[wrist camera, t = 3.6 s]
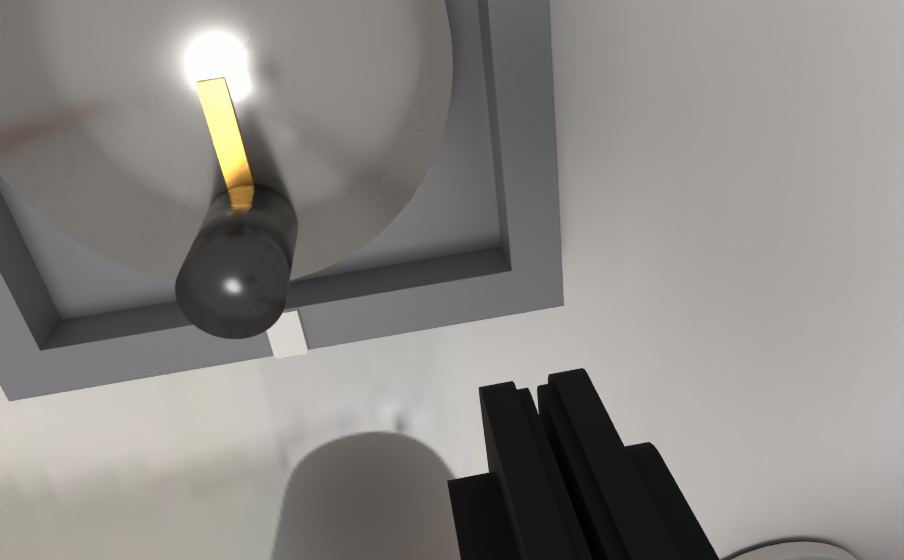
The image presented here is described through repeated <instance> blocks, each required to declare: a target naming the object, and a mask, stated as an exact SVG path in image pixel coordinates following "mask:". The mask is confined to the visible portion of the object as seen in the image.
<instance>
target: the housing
mask: <svg viewBox="0 0 904 560" xmlns="http://www.w3.org/2000/svg"><path fill="white" fill-rule="evenodd" d="M445 4H446V9H447V15H448V20H449V26H450V32H451V40H452V58H453V76H452V90H451V101H450V106H449V111H448V116H447V121H446V126H445V130H444V133H443V136H442V139H441V141H440V144H439V147H438V150H437V153H436V156H435V158H434V160H433V162H432V164H431V166H430V168H429V170H428V172H427V174H426V176H425V178H424V180H423V182H422V184H421V185H420V187H419V188H418V189H417V191H416V192H415V194H414V195H413V197H412V198H411V200H410V201H409V203H408V204H407V205H406V207H405V208H404V209H403V210H402V211H401V212H400V213H399V215H398V216H397V217H396V218H395V219H394V220H393V221H392V222H391V224H390V225H389V226H387V227H386V228H385V229H384V230H383V231H382V232H381V233H379V234H378V235H377V236H376V237H375V238H374V239H373V240H371V241H370V242H369V243H368V244H366V245H365V246H363V247H362V248H360V249H359V250H357V251H356V252H354V253H353V254H351V255H350V256H348V257H347V258H345V259H343V260H341V261H339V262H337V263H335V264H333V265H331V266H329V267H327V268H325V269H322V270H320V271H317V272H314V273H311V274H308V275H306V276H303V277H300V278H297V279H293V280H290V281H289V287H288V292H287V298H286V304H285V307H284V310H283V313H282V315H281V316H280V318H279V319H278V321H277V322H276V323H275V324H274V325H273V326H272V327H271V328H269V329H268V330H266V331H265V332H263V333H261V334H259V335H256V336H253V337H250V338H245V339H225V338H220V337H216V336H213V335H210V334H208V333H206V332H204V331H202V330H200V329H198V328H197V327H196V326H194V325H193V324H192V323H191V322H190V321H189V320H188V319H187V318H186V317H185V316H184V314H183V313H182V311H181V310H180V308H179V305H178V303H177V300H176V295H175V283H176V282H173V281H169V280H164V279H160V278H156V277H153V276H150V275H147V274H144V273H141V272H138V271H135V270H132V269H129V268H126V267H124V266H122V265H120V264H117V263H115V262H113V261H111V260H109V259H106V258H104V257H102V256H100V255H98V254H96V253H94V252H93V251H91V250H89V249H88V248H86V247H84V246H82V245H81V244H79V243H77V242H76V241H74V240H72V239H70V238H69V237H68V236H66V235H65V234H64V233H62V232H61V231H60V230H58V229H57V228H55V227H54V226H53V225H51V224H50V223H49V222H47V221H46V220H45V219H43V218H42V217H41V216H40V215H39V214H38V213H37V212H36V211H34V210H33V209H32V208H31V207H30V206H29V205H28V204H27V203H26V202H25V201H23V200H22V199H21V198H20V197H19V196H18V195H17V194H16V193H15V191H14V190H13V189H12V188H11V187H10V186H9V185H8V184H7V182H6V181H5V180H4V179H3V178H2V177H1V176H0V386H1V387H2V389H3V391H4V393H5V395H6V396H7V398H8V400H9V401H14V400H20V399H26V398H31V397H37V396H43V395H49V394H55V393H60V392H66V391H72V390H78V389H84V388H89V387H95V386H101V385H107V384H112V383H118V382H124V381H130V380H136V379H141V378H147V377H153V376H159V375H165V374H170V373H176V372H182V371H188V370H194V369H199V368H205V367H211V366H217V365H223V364H228V363H234V362H240V361H246V360H252V359H257V358H263V357H269V356H274V357H275V359H279V358H285V357H290V356H296V355H302V354H308V353H309V349H315V348H321V347H327V346H333V345H338V344H344V343H350V342H356V341H362V340H367V339H373V338H379V337H385V336H391V335H396V334H402V333H408V332H414V331H420V330H425V329H431V328H437V327H443V326H449V325H454V324H460V323H466V322H472V321H478V320H483V319H489V318H495V317H501V316H507V315H512V314H518V313H524V312H530V311H535V310H541V309H547V308H553V307H559V306H564V297H563V277H562V257H561V236H560V216H559V196H558V175H557V155H556V134H555V114H554V94H553V73H552V53H551V33H550V12H549V0H445Z"/></svg>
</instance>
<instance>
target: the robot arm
mask: <svg viewBox="0 0 904 560" xmlns="http://www.w3.org/2000/svg"><path fill="white" fill-rule="evenodd" d="M479 396H480V404H481V412H482V420H483V428H484V436H485V444H486V451H487V459H488V467H489V473H485V474H479V475H474V476H469V477H464V478H459V479H454V480H448V481H447V482H448V488H449V494H450V500H451V505H452V511H453V517H454V522H455V528H456V534H457V539H458V545H459V551H460V557H461V560H719V558H718V556H717V554H716V552H715V551H714V549H713V547H712V545H711V544H710V542H709V540H708V538H707V537H706V535H705V533H704V531H703V529H702V528H701V526H700V524H699V522H698V521H697V519H696V517H695V515H694V514H693V512H692V510H691V508H690V506H689V505H688V503H687V501H686V499H685V498H684V496H683V494H682V492H681V490H680V489H679V487H678V485H677V483H676V482H675V480H674V478H673V476H672V475H671V473H670V471H669V469H668V467H667V466H666V464H665V462H664V460H663V459H662V457H661V455H660V453H659V452H658V450H657V449H656V448H655V446H654V445H653V444H651V443H650V442H646V443H641V444H636V445H631V446H625V447H624V445H623V443H622V441H621V439H620V437H619V435H618V433H617V431H616V429H615V427H614V425H613V423H612V421H611V419H610V417H609V415H608V413H607V411H606V409H605V407H604V405H603V403H602V401H601V399H600V397H599V395H598V393H597V392H596V390H595V388H594V386H593V384H592V382H591V380H590V378H589V376H588V374H587V372H586V371H585V369H583V368H581V369H575V370H570V371H565V372H559V373H554V374H549V376H548V384H545V385H540V386H538V387H537V396H538V410H539V414H538V412H537V409H536V406H535V404H534V401H533V398H532V396H531V393H530V391H529V389H528V388H523V389H518V390H517V389H516V387H515V384H514V382H513V381H510V382H505V383H499V384H494V385H489V386H483V387H479ZM731 560H857V559H856V558H855V557H854V556H853V555H852V554H850V553H849V552H847V551H845V550H843V549H841V548H839V547H836V546H832V545H829V544H825V543H817V542H806V541H803V542H786V543H781V544H775V545H770V546H765V547H762V548H759V549H756V550H753V551H750V552H747V553H744V554H742V555H739V556H737V557H735V558H733V559H731Z"/></svg>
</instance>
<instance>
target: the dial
mask: <svg viewBox="0 0 904 560" xmlns="http://www.w3.org/2000/svg"><path fill="white" fill-rule="evenodd" d="M452 76H453V58H452V40H451V32H450V26H449V20H448V15H447V9H446V4H445V0H0V176H1V177H2V178H3V179H4V180H5V181H6V182H7V184H8V185H9V186H10V187H11V188H12V189H13V190H14V191H15V193H16V194H17V195H18V196H19V197H20V198H21V199H22V200H23V201H25V202H26V203H27V204H28V205H29V206H30V207H31V208H32V209H33V210H34V211H36V212H37V213H38V214H39V215H40V216H41V217H42V218H43V219H45V220H46V221H47V222H49V223H50V224H51V225H53V226H54V227H55V228H57V229H58V230H60V231H61V232H62V233H64V234H65V235H66V236H68V237H69V238H70V239H72V240H74V241H76V242H77V243H79V244H81V245H82V246H84V247H86V248H88V249H89V250H91V251H93V252H94V253H96V254H98V255H100V256H102V257H104V258H106V259H109V260H111V261H113V262H115V263H117V264H120V265H122V266H124V267H126V268H129V269H132V270H135V271H138V272H141V273H144V274H147V275H150V276H153V277H156V278H160V279H164V280H169V281H173V282H176V283H175V295H176V300H177V303H178V305H179V308H180V310H181V311H182V313H183V314H184V316H185V317H186V318H187V319H188V320H189V321H190V322H191V323H192V324H193V325H194V326H196V327H197V328H198V329H200V330H202V331H204V332H206V333H208V334H210V335H213V336H216V337H220V338H225V339H245V338H250V337H253V336H256V335H259V334H261V333H263V332H265V331H266V330H268V329H269V328H271V327H272V326H273V325H274V324H275V323H276V322H277V321H278V319H279V318H280V316H281V315H282V313H283V310H284V307H285V304H286V298H287V292H288V287H289V281H290V280H293V279H297V278H300V277H303V276H306V275H308V274H311V273H314V272H317V271H320V270H322V269H325V268H327V267H329V266H331V265H333V264H335V263H337V262H339V261H341V260H343V259H345V258H347V257H348V256H350V255H351V254H353V253H354V252H356V251H357V250H359V249H360V248H362V247H363V246H365V245H366V244H368V243H369V242H370V241H371V240H373V239H374V238H375V237H376V236H377V235H378V234H379V233H381V232H382V231H383V230H384V229H385V228H386V227H387V226H389V225H390V224H391V222H392V221H393V220H394V219H395V218H396V217H397V216H398V215H399V213H400V212H401V211H402V210H403V209H404V208H405V207H406V205H407V204H408V203H409V201H410V200H411V198H412V197H413V195H414V194H415V192H416V191H417V189H418V188H419V187H420V185H421V184H422V182H423V180H424V178H425V176H426V174H427V172H428V170H429V168H430V166H431V164H432V162H433V160H434V158H435V156H436V153H437V150H438V147H439V144H440V141H441V139H442V136H443V133H444V130H445V126H446V121H447V116H448V111H449V106H450V101H451V90H452Z"/></svg>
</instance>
